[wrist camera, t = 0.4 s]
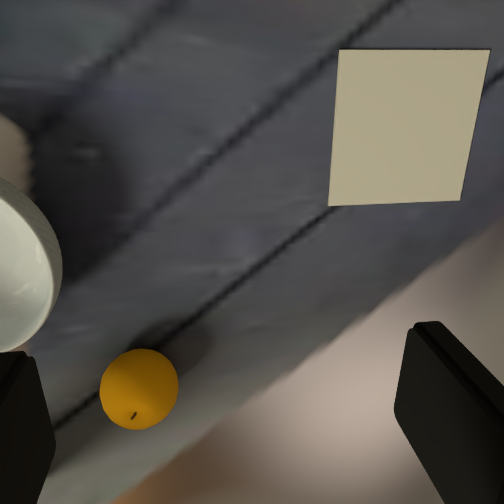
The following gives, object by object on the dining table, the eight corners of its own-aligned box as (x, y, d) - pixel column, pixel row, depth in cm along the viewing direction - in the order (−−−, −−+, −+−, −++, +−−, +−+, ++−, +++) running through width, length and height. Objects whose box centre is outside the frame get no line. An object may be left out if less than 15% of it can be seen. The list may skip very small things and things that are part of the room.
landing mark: (339, 49, 36) (339, 49, 36) (488, 50, 37) (489, 50, 37) (328, 205, 41) (328, 205, 41) (458, 199, 43) (459, 200, 43)
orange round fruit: (193, 373, 48) (192, 424, 41) (135, 405, 48) (126, 460, 41) (152, 324, 44) (145, 370, 38) (91, 359, 45) (73, 410, 38)
